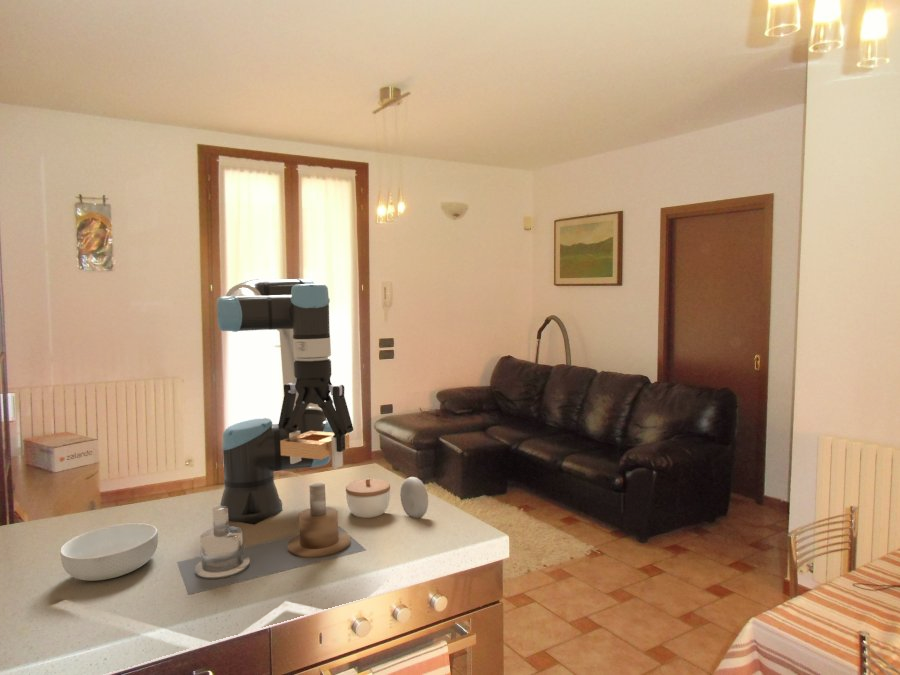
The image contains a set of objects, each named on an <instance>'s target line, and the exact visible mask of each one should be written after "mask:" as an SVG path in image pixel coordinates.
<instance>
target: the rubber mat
mask: <svg viewBox="0 0 900 675" xmlns="http://www.w3.org/2000/svg"><path fill="white" fill-rule="evenodd" d="M338 530H339V531H343V532H345V533H347V534H348V535H349V536H350V539H351V543H350V545H349V547H348V548H347V549H345V550H344V551H342V552H340V553H337V554H334V555H331V556H327V557H321V558H302V557H297V556H294V555H292V554H290V553H289V552H288V542H289V541H290V540H291V539H292V538H294V537H295V536H297V535H298V534H297V535H292V536H287V537H283V538H278V539H273V540H269V541H265V542H261V543H257V544H252V545H247V546H243V554H245V555H247V556H248V557H249V558H250V566H249V567H248V568H247V569H246V570H245V571H244V572H242V573H240V574H238V575H235V576H232V577H228V578H224V579H216V580H208V579H202V578H199V577H197V576H196V574H195V567H196V565H197V564H198V563H199V562H201V556H198V557H193V558H189V559H185V560H181V561H177V562H176V563H177V566H178V568H179V571H180V574H181V578H182V580H183V583H184V586H185V588H186V592H187V594H188V595H194V594H197V593H201V592H205V591H210V590H213V589H217V588H221V587H225V586H229V585H233V584H236V583H242V582H245V581H250V580H252V579H258V578H262V577H266V576H269V575H273V574H276V573H277V574H278V573H280V572H285V571H289V570H293V569H297V568H301V567H305V566H309V565H312V564H313V565H314V564H317V563H320V562H325V561H329V560H332V559H336V558H341V557H345V556H349V555H352V554H357V553H361V552H365V551H367V549H366V548H365V547H364V546H363V545H362V544H360V543H359V541H357V540H356V539H354V538H353V537H352V536H351V534H349V533H348V532H347V531H345V530H344V529H343V528H342V527H341V526H340V525H338Z"/></svg>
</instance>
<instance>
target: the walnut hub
mask: <svg viewBox="0 0 900 675" xmlns="http://www.w3.org/2000/svg"><path fill="white" fill-rule="evenodd" d="M308 487H309V508H307V509H305V510H302V511H301V512H300V513H299V514H298V528H299V530H298V531H299V534H297V536H296V535H294V536H295V537H294V538H292V539H291V540H290V541H289V542H288V552H289V553H290V554H292V555H294V556H297V557H302V558H321V557H327V556H331V555H334V554H337V553H340V552H342V551H344V550H345V549H347V548H348V547H349V545H350V543H351V539H350V536H351V535H350V534H349V533H348V532H347V533H348V534H349V535H350V536H349V535H348V534H347V533H345V532H346V531H345V532H343V531H339V530H338V526H339V515H338V514H339V513H338V510H337V509H336V508H334V507H331V506H326V505H327V502H326V500H327V499H326V483H322V482H317V483H312V484H310V485H309V486H308Z"/></svg>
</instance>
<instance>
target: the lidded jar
mask: <svg viewBox="0 0 900 675" xmlns="http://www.w3.org/2000/svg"><path fill="white" fill-rule="evenodd" d="M390 490H391V484H390V481H389V482H388V480H387V481H386V480H384V479H378V478H370V477H369V478H368V477H367V478H365V479H358V480H354V481H353V482H350V483H348V484H347V485H345V494H346V496H345V497H346V503H347V507H348V510H349V511H350V513H351V514H352V515H353V516H355V517H357V518H365V519H366V518H367V519H368V518H375V517H378V516H381V515H383V514H384V513H385V512H386V511H387V509H388V507H389V504H390V497H391V495H390V493H391V491H390Z"/></svg>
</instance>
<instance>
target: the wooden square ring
mask: <svg viewBox="0 0 900 675" xmlns="http://www.w3.org/2000/svg"><path fill="white" fill-rule="evenodd" d="M332 436H334V433H332V432H320V431H309V432H306V433H303V434H300V435H297V436H294V437H290V438H287V439H284V440H281V441H280V445H281V455H283V456H292V457H301V458H311V459H320V460H321V459H324V458H326V457H328V456H331V457H332V442H331V437H332ZM348 449H350V433H347V434H346V435H345V450H344V451H346V450H348Z"/></svg>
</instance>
